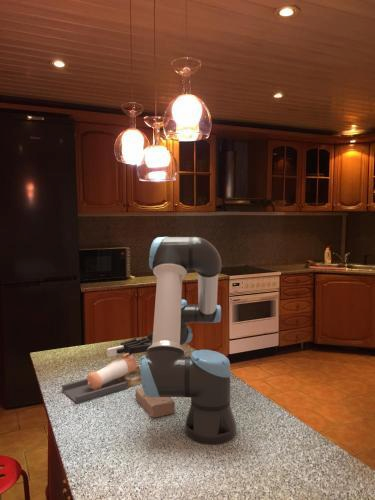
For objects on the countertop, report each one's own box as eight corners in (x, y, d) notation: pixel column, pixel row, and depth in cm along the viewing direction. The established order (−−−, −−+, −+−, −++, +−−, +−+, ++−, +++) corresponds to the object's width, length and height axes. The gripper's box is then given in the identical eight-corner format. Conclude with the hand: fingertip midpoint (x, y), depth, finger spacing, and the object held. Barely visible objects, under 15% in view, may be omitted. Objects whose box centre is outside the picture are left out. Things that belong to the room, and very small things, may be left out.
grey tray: (111, 377, 158) (111, 372, 158) (127, 388, 148) (127, 382, 148) (62, 391, 146) (62, 385, 146) (76, 404, 136) (76, 397, 136)
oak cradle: (138, 371, 165) (137, 364, 165) (153, 379, 157) (153, 372, 156) (113, 378, 158) (112, 370, 158) (127, 387, 149) (127, 379, 149)
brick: (134, 399, 140) (134, 386, 140) (156, 394, 144) (156, 381, 144) (152, 420, 126) (151, 406, 125) (176, 414, 129) (175, 400, 129)
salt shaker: (138, 371, 154) (96, 395, 141) (128, 369, 159) (86, 392, 147) (133, 353, 153) (90, 376, 141) (123, 351, 159) (80, 373, 146)
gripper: (168, 353, 160) (116, 367, 145) (150, 345, 170) (100, 357, 155) (168, 335, 159) (116, 347, 144) (150, 328, 169) (99, 338, 154)
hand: (107, 352), depth 150 cm, fingers closed
